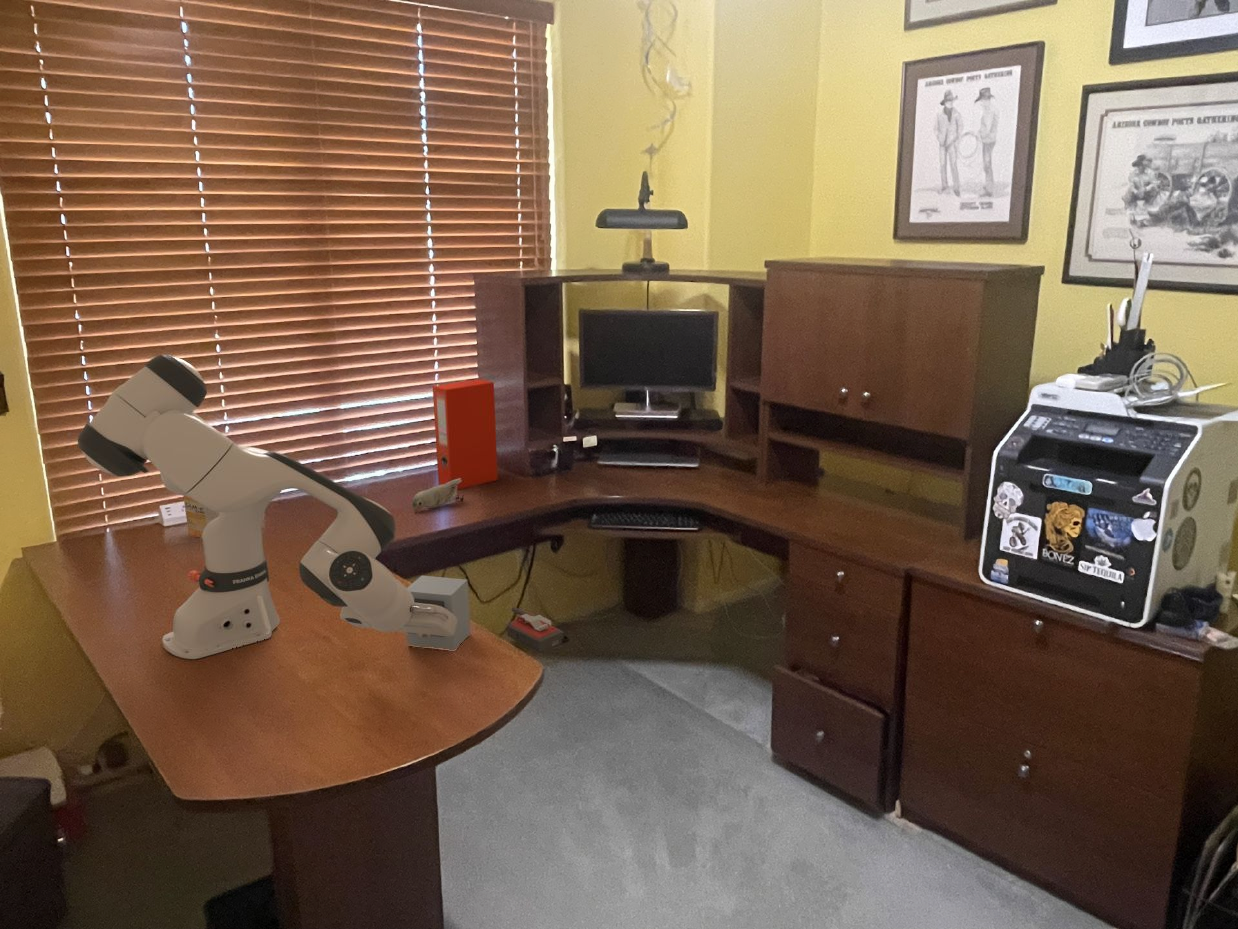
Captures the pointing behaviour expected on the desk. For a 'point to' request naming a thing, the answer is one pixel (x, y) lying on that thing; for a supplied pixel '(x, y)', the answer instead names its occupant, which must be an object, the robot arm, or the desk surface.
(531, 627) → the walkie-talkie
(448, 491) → the decorative bird
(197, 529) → the supplement box
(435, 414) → the file binder
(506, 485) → the desk surface
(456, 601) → the housing
